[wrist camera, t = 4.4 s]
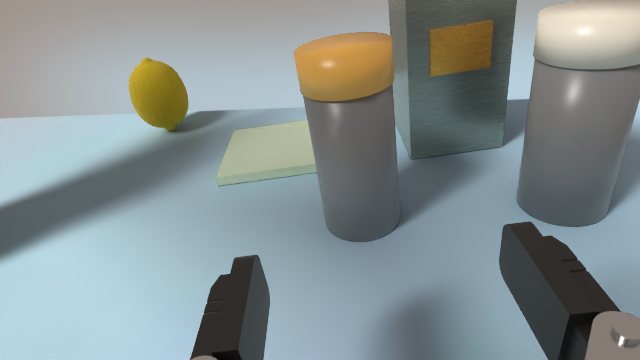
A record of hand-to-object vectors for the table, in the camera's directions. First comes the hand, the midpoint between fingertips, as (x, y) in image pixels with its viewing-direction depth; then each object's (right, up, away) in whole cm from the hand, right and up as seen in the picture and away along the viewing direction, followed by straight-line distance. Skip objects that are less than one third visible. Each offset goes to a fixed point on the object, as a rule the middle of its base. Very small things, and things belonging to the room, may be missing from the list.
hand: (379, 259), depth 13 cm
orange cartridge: (+1, 0, +13) cm, 13 cm away
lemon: (-18, +8, +31) cm, 37 cm away
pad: (-6, +5, +22) cm, 24 cm away
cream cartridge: (+13, +1, +11) cm, 17 cm away
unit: (+9, +7, +21) cm, 23 cm away
